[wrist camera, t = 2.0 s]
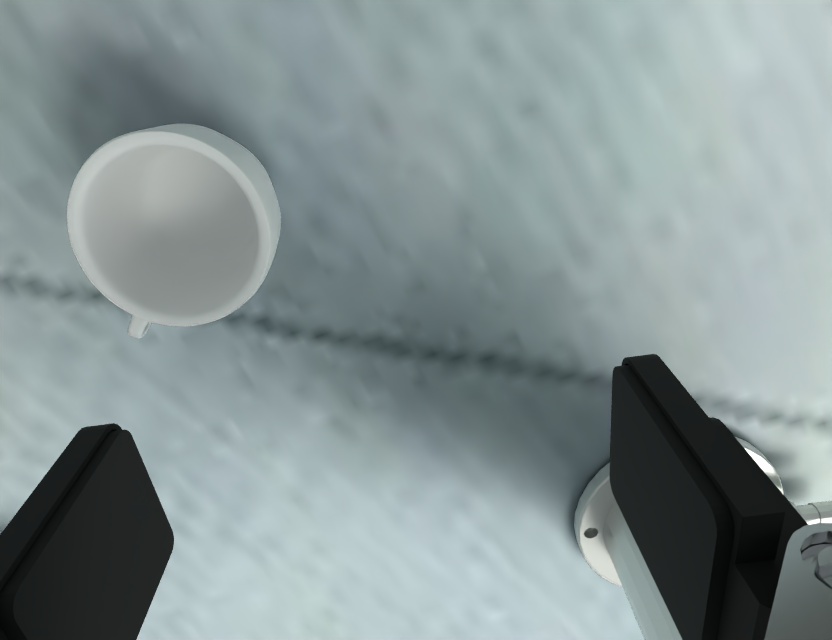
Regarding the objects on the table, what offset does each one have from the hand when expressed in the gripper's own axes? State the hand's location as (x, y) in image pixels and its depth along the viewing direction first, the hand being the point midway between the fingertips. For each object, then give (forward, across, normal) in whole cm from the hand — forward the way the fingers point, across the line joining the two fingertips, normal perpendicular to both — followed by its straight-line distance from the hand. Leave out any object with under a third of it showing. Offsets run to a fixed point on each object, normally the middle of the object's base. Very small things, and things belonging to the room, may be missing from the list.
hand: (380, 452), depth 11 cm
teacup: (+19, +9, 0) cm, 20 cm away
